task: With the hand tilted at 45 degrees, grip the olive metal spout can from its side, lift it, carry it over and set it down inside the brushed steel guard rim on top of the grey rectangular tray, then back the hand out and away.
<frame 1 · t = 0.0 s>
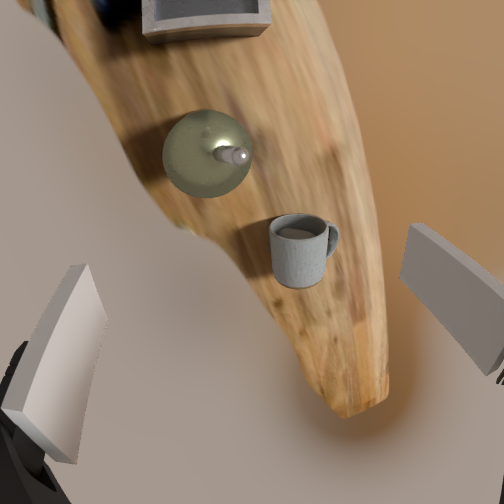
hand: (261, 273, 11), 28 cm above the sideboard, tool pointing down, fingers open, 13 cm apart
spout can: (203, 136, 35), on the sideboard
ceramic mug: (299, 235, 44), on the sideboard
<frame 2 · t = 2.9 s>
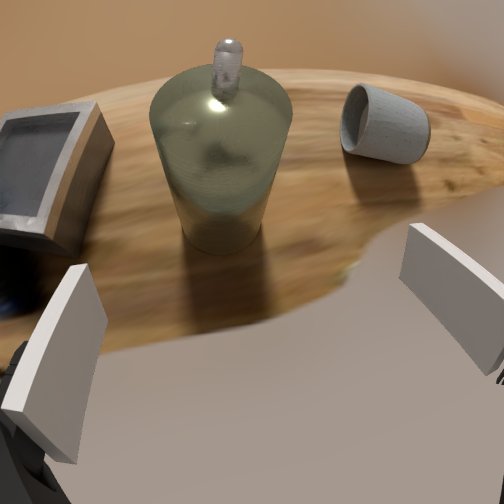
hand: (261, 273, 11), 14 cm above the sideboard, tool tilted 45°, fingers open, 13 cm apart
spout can: (221, 217, 27), on the sideboard
grey rectangular tray: (46, 192, 26), on the sideboard
ceramic mug: (367, 137, 32), on the sideboard
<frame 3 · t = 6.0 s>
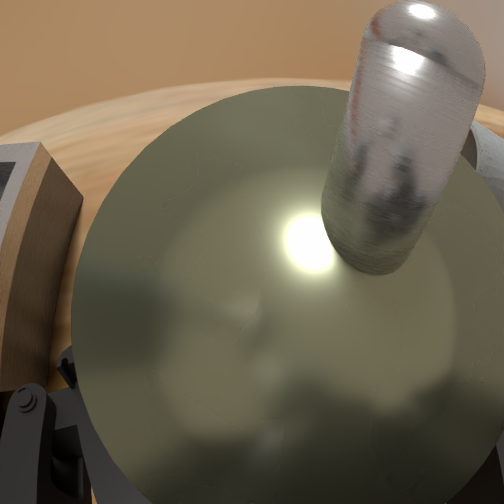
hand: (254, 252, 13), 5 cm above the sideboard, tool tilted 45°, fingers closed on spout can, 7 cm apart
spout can: (255, 338, 17), on the sideboard, touching gripper
ceramic mug: (443, 181, 22), on the sideboard
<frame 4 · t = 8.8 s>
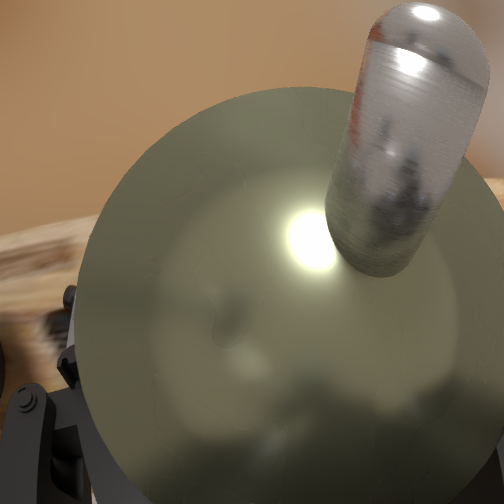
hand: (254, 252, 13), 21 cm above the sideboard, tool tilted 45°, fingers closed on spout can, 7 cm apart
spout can: (256, 338, 17), point 16 cm above the sideboard, touching gripper
grey rectangular tray: (150, 316, 32), on the sideboard
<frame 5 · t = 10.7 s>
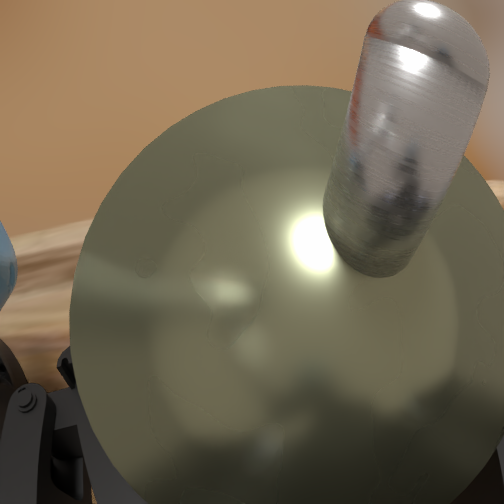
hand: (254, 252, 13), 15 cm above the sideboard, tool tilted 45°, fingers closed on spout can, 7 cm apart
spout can: (256, 338, 17), point 11 cm above the sideboard, touching gripper
when the fingers open (11 cm above the sideboard, at t = 12.0 s): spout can drops 2 cm, resting on grey rectangular tray.
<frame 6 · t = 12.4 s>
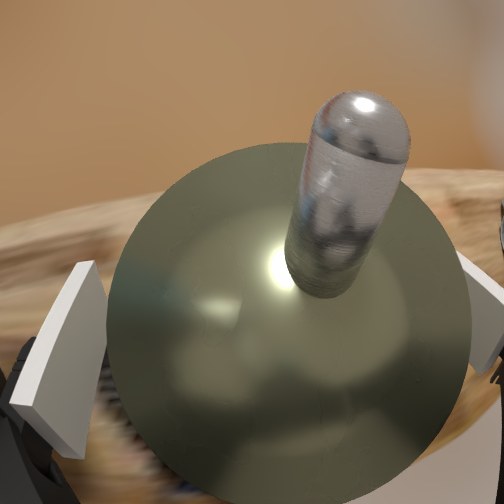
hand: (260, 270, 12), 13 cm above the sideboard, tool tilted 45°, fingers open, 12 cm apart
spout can: (251, 340, 18), point 5 cm above the sideboard, touching grey rectangular tray
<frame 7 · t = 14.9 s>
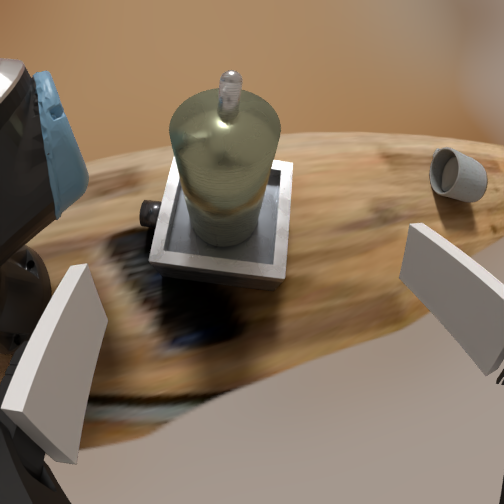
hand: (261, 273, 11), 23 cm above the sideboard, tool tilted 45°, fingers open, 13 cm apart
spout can: (223, 214, 31), point 5 cm above the sideboard, touching grey rectangular tray
grey rectangular tray: (224, 230, 36), on the sideboard
ceramic mug: (443, 180, 42), on the sideboard
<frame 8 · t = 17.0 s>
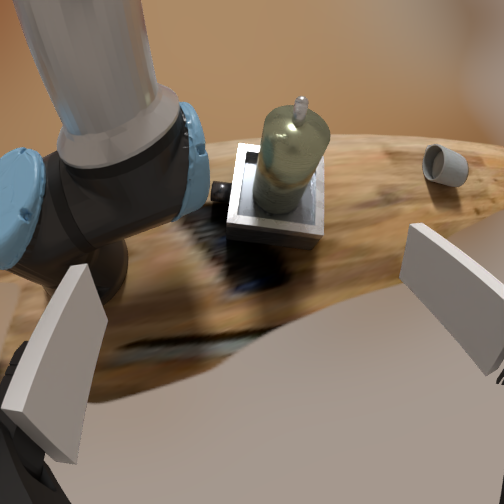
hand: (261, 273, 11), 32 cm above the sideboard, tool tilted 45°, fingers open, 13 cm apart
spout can: (277, 191, 43), point 5 cm above the sideboard, touching grey rectangular tray
grey rectangular tray: (272, 206, 47), on the sideboard
ceramic mug: (434, 170, 54), on the sideboard
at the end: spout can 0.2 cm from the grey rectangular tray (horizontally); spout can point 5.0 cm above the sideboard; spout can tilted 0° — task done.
